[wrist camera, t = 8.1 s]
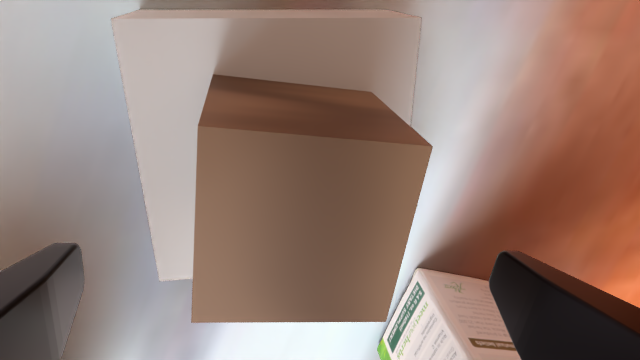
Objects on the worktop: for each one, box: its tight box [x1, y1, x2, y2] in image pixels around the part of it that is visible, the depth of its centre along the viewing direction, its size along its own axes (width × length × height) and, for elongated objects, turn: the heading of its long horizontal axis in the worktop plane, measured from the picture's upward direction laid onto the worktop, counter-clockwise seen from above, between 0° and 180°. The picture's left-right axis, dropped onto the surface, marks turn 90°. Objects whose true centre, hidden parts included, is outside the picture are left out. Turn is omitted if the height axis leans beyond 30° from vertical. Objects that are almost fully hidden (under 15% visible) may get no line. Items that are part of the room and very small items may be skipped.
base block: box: [111, 9, 422, 282], centre depth 16 cm, size 9×9×4 cm
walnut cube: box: [191, 74, 433, 323], centre depth 12 cm, size 5×5×5 cm
